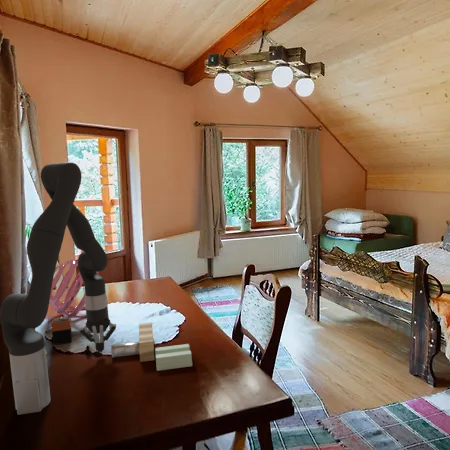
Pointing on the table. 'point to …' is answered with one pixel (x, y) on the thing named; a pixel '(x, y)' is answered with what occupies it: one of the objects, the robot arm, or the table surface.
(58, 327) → the battery
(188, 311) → the table surface
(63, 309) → the spiral basket
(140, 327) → the beam
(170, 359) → the v block
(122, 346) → the pale grey long bar
